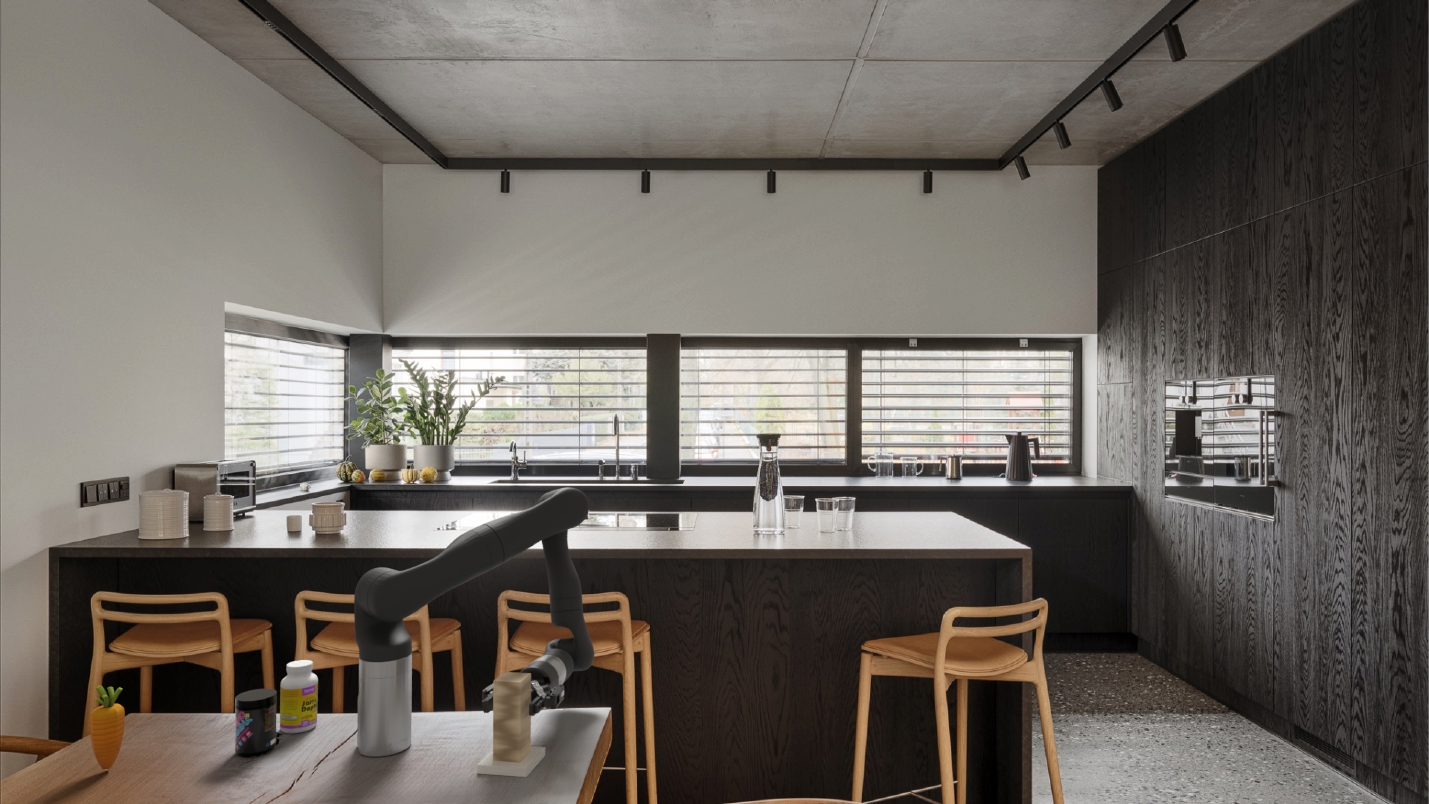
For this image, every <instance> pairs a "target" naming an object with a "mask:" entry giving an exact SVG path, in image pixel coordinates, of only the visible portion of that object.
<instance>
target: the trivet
mask: <svg viewBox="0 0 1429 804" xmlns="http://www.w3.org/2000/svg"><path fill="white" fill-rule="evenodd" d="M545 756H546V746H533V745H531V751H530V752H529V753H528V754H527V755H526V756H525V757H524V759H523V760H522V761H521V762H506V761H493V749H492V750H491V751H490V752H488V754H486V756H485V757H484V758H483V759H482V760H481V761H480V762H479V763H478V764H477V766H476V767H477V768H476V774H478V775H479V774H480V775H481V774H482V775H493V776H507V777H518V778H519V777H520V778H527V777H528V776H529V775H530V774H531V773H532V771H533V770H534V769H535V768H536V767H537V765H539V763H540V762H541V761H542V760H543V759H544V757H545Z"/></svg>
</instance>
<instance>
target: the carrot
mask: <svg viewBox="0 0 1429 804" xmlns="http://www.w3.org/2000/svg"><path fill="white" fill-rule="evenodd" d="M95 690H96V692H97V694H98V695H99V696H100V697H95V698H94V701H96V702H97V703H98V704H100V706H98V707H96V708H95V709H93V710H92V711H91V712H90V714H89V731H90V732H89V733H90V742H91V746H92V750H93V755H94V757H95V759H96V762H97V763H98V765H99V766H100V768H101V769H102V770H103V769H110V768H111V769H112V767H113V766H114V764H115V762H116V760H117V758H118V755H119V754H120V751H121V746H122V743H123V738H124V732H125V717H126V716H125V715H126V711H125V707H124V706H122V705H121V704H119V703H115V702H116V700H117V699H118V697H119V695H120V694H121V692H122V691H123V688H122V687H118V688H117V689H116V690H114V687H113V686H109V687H107V691H108V693H107V691H106V690H105V688H104V687H103V686H102V685H97V687H96V688H95ZM108 695H109V696H108Z"/></svg>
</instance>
